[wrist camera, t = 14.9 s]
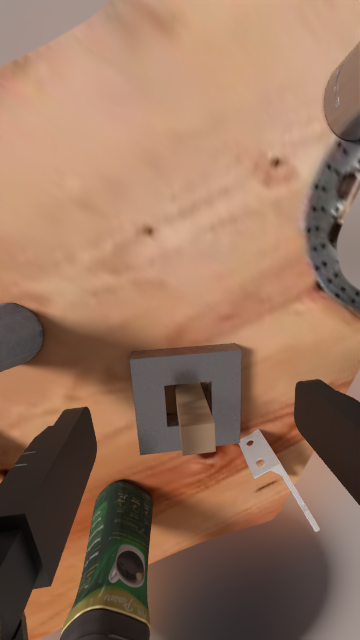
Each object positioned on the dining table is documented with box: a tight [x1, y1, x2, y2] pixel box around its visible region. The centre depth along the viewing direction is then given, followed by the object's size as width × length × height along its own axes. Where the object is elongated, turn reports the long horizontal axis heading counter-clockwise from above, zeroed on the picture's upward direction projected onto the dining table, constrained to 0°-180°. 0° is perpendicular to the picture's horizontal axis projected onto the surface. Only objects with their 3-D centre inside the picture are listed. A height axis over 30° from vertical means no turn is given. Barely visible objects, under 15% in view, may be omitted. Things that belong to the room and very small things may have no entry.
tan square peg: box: [175, 382, 216, 456], centre depth 31 cm, size 4×4×10 cm
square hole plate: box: [130, 343, 242, 455], centre depth 34 cm, size 16×16×3 cm
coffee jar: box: [60, 481, 153, 640], centre depth 30 cm, size 10×8×19 cm
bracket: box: [239, 429, 320, 532], centre depth 35 cm, size 11×4×10 cm, turn 30°
